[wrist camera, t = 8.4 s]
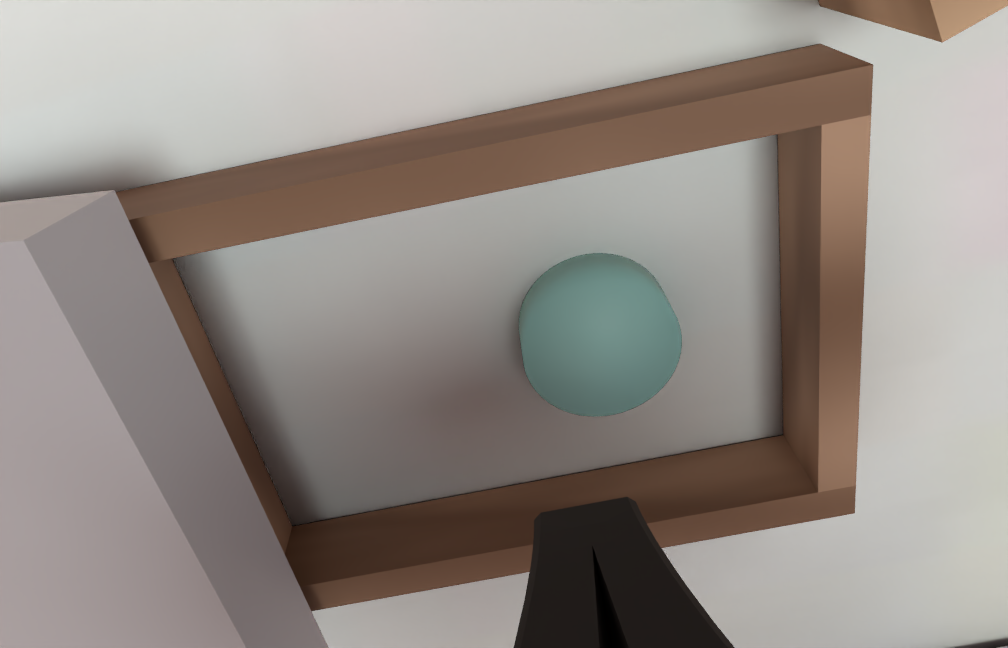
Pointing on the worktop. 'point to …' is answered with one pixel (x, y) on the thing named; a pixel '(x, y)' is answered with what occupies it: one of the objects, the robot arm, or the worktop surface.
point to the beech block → (920, 14)
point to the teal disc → (598, 335)
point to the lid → (119, 457)
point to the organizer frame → (540, 158)
